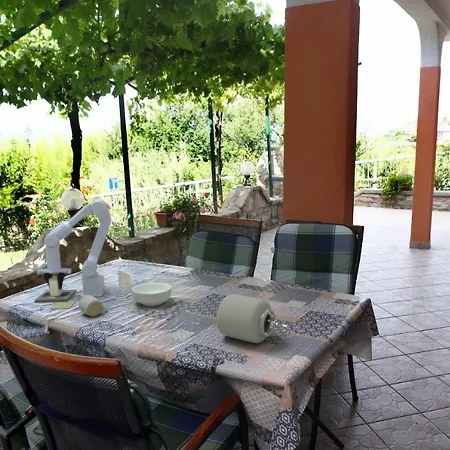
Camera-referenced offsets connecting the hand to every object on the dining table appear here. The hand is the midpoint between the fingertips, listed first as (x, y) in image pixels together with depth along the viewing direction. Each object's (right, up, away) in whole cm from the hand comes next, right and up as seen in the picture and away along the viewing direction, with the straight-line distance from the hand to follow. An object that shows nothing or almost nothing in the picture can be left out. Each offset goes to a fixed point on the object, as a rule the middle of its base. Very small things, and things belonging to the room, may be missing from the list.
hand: (55, 289), depth 208 cm
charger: (0, -2, 0) cm, 2 cm away
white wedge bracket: (+30, -2, +9) cm, 31 cm away
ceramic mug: (+23, -7, -21) cm, 32 cm away
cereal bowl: (+45, -5, -10) cm, 46 cm away
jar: (+88, -11, -49) cm, 101 cm away
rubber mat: (+7, -6, -11) cm, 14 cm away
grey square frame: (0, -4, +1) cm, 4 cm away
